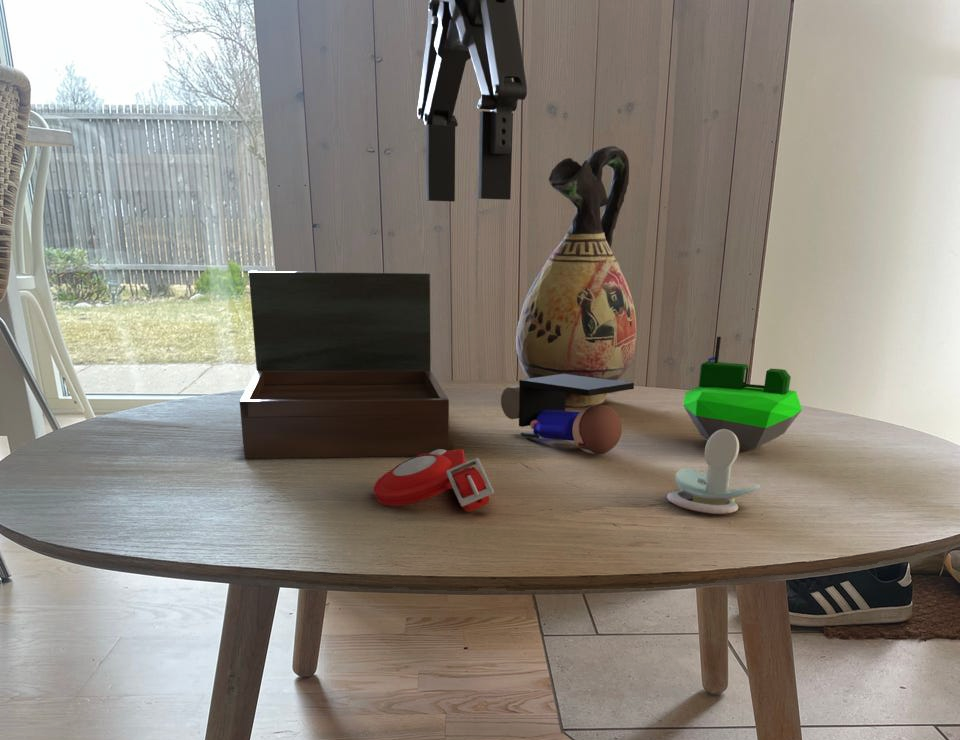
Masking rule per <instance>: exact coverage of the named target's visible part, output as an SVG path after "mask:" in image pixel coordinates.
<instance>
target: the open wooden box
mask: <svg viewBox="0 0 960 740" xmlns="http://www.w3.org/2000/svg"><path fill="white" fill-rule="evenodd" d="M248 282H249V293H250V305H251V319H252V331H253V343H254V354H255V355H254V356H255V368H256V371H255V373H254V375H253V376H252V377H251V380H250V382H249V384H248V386H247V387H246V389H245V391H244V393H243V395H242V396H241V398H240V401H239V411H240V422H241V432H242V434H241V435H242V444H243V455H244V457H243V458H244V459H245V460H246V459H249V460H250V459H312V458H314V459H315V458H374V457H375V458H376V457H377V458H379V457H381V458H382V457H383V458H384V457H415V456H418V455H420V454H425V453H431V452H432V451H435V450H438V449H443V450H446V451H449V450H450V434H449V433H450V432H449V431H450V400H449V398H448V397H447V394H446V393H445V392H444V390H443V388H442V387H441V384H440V382H439V381H438V380H437V378H436V376H435V375H434V373H433V372H432V370H431V368H432V366H431V365H432V364H431V361H432V360H431V358H432V357H431V356H432V355H431V348H432V347H431V346H432V345H431V273H429V272H367V271H366V272H365V271H364V272H363V271H362V272H361V271H359V272H358V271H357V272H355V271H354V272H353V271H338V272H337V271H274V270H273V271H271V270H270V271H266V270H265V271H264V270H263V271H261V270H259V271H258V270H250V271H248Z"/></svg>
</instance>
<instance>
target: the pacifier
mask: <svg viewBox="0 0 960 740" xmlns="http://www.w3.org/2000/svg"><path fill="white" fill-rule="evenodd" d="M706 441H707V442H706V444H705V446H704V447H705V448H704V458H705V462H706V464H707V471H706V474H705V473H704V472H702V471H699V470H696V469H693V468H688V467H683V468H680V469H678V470H677V472H676V474H675V483H676V485H677V486H678V487H679V489H680V490H676V491H672V492H669V493H668V495H667V499H668V500H669V502H671V504H674V505H676V506H678V507H681V508H683V509H687V510H690V511H695V512H700V513H707V514H717V515H718V514H719V515H721V514H723V515H724V514H732V513H735V512H736V511H738V510H739V505H738V504H737V502H735V501H736V498H740V497H744V496H747V495H750V494H752V493H754V492H756V491H758V490H760V486H761V485H760V484H757V485H753V486H750V487H746V488H737V489H736V488H735V489H729V485H730V478H731V469H732V465H733V464H734V463H735V461H736V460H737V457H738V455H739V453H740V451H739V441H738V439H737V437H736V435H735V434H734V433H733V432H732V431H730V430H727V429H721V430H718V431H716V432H715V433H714V434H712V435H711V437H710V438H709V440H706ZM699 482H700V483H699ZM701 483H702V484H701ZM689 499H692V500H689Z"/></svg>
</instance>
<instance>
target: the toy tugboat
mask: <svg viewBox="0 0 960 740" xmlns="http://www.w3.org/2000/svg"><path fill="white" fill-rule="evenodd" d="M721 341H722V336H716V345H715V351H714V352H715V353H714V356H712V357H708V358H707V361H705V362H703V363H702V364H701V365H700V372H699V380H698V386H697V387H694V388H692V389H690V390H688V391H686V392H685V393H684V399H683V404H682V405H683V406H682V407H684V409H685V411H686V413H687V414H688V416H689V418H690V419H691V421H692V423H693V424H694V426H695V428H696V429H697V432H698V433H699V434H700V436H701V437H703V438H704V439H705V440H706V441H708V440H709V438H710V437H711V435H712V434H714V433H715V432H716V431H718V430H721V429H727V430H730V431H732V432H733V433H734V434H735V435H736V437H737V439H738V441H739V452H742V453H744V452H748V451H752V450H755V449H758V448H759V447H762V446H763V445H765V444H767V443H769V442H771V441H774V440H776V439H777V438H779V437H781V436H782V435H784V434H785V433H787V431H788V429H789V428H790V426H791V425H792V424H793V422H794V421H795V420H796V418H797V417H798V416H799V414H800V413H801V412H802V411H803V407H802V404H801V402H800V399H799V395H798V393H797V391H796V390H790V384H791V379H792V377H791V376H790V374H789V373H788V371H787V370H786V369H782V368H769V369H768V370H766V371H765V377H764V385H763V384H762V385H761V384H752V383H751V384H750V383H747V382H748V377H749V376H748V374H749V368H750V367H749V365H748V364H745V363H735V362H723V361H720V362H719V357H720V348H721Z"/></svg>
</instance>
